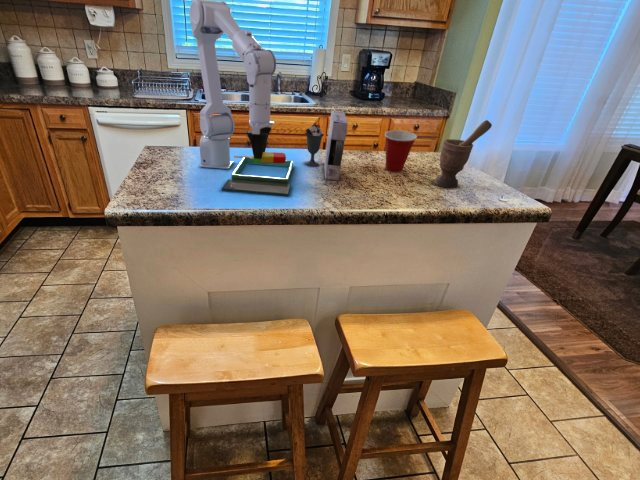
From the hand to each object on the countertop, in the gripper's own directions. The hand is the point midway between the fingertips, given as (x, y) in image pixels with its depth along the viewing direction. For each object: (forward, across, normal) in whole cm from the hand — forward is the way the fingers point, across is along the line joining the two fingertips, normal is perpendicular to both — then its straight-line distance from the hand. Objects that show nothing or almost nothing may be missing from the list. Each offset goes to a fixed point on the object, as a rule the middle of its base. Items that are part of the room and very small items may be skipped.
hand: (259, 155), depth 111 cm
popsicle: (+2, 0, 0) cm, 2 cm away
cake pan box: (+9, +18, -22) cm, 30 cm away
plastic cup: (+9, +27, -44) cm, 52 cm away
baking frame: (+8, +11, 0) cm, 14 cm away
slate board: (+8, -4, 0) cm, 9 cm away
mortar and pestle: (+9, +14, -61) cm, 63 cm away
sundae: (+9, +26, -15) cm, 31 cm away
